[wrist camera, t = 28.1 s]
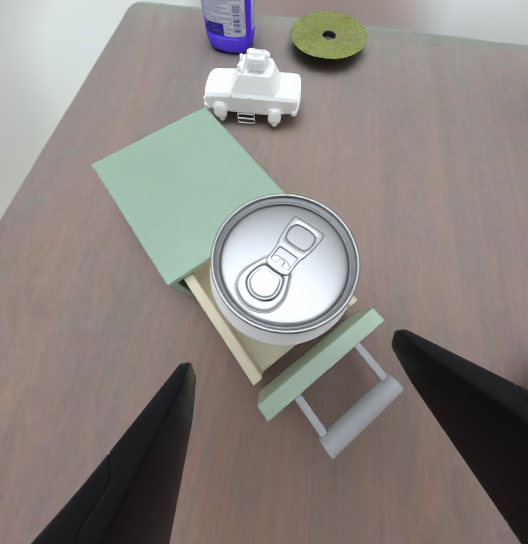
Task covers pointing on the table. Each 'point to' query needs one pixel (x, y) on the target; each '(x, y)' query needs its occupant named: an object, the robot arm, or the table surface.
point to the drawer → (304, 367)
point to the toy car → (253, 89)
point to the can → (284, 268)
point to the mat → (328, 35)
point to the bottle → (229, 24)
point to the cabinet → (182, 191)
